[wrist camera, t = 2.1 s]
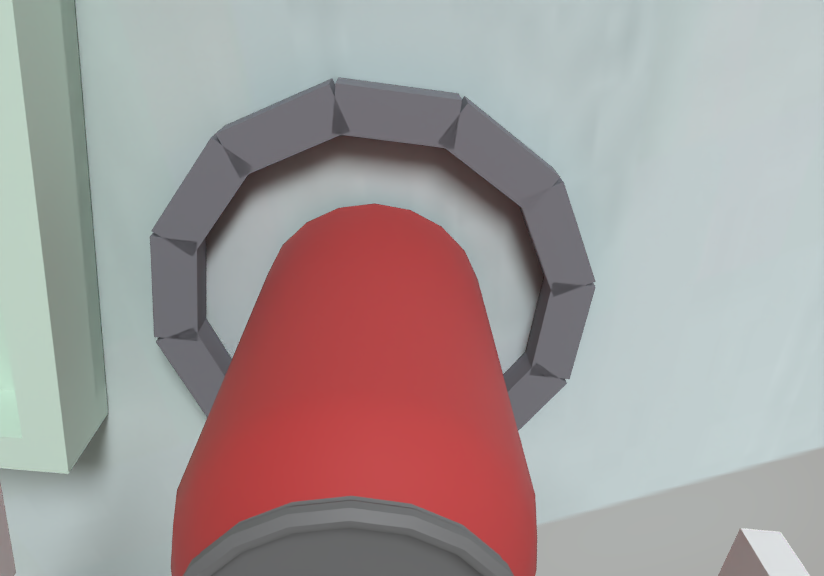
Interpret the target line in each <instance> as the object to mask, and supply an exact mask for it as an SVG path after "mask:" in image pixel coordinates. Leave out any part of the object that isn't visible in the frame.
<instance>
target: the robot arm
mask: <svg viewBox="0 0 824 576" xmlns="http://www.w3.org/2000/svg"><path fill="white" fill-rule="evenodd" d="M15 573H16V569H15V564H14V558H13V552H12V546H11V541H10V535H9V529H8V523H7V518H6V512H5V506H4V500H3V495H2V489H1V483H0V576H14V575H15ZM718 576H810V575H809V573H808V572H807V570H806V569H805V567H804V566H803V565H802V563H801V562H800V560H799V559H798V557H797V556H796V554H795V553H794V551H793V550H792V548H791V547H790V545H789V544H788V542H787V541H786V539H785V538H784V536H783V535H782V533H781V532H777V531H766V530H756V529H746V528H740V530H739V532H738V534H737V536H736V538H735V541H734V543H733V545H732V547H731V549H730V552H729V553H728V556H727V558H726V560H725V562H724V564H723V566H722V568H721V571H720V573H719V575H718Z"/></svg>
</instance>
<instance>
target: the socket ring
mask: <svg viewBox="0 0 824 576" xmlns="http://www.w3.org/2000/svg"><path fill="white" fill-rule="evenodd" d="M340 135H347V136H355V137H362V138H370V139H378V140H386V141H394V142H402V143H409V144H417V145H425V146H433V147H441V148H445V149H447V150H448V151H449V152H450V153H452V154H453V155H454V156H456V157H457V158H458V159H460V160H461V161H462V162H463V163H465V164H466V165H467V166H469V167H470V168H471V169H472V170H474V171H475V172H476V173H478V174H479V175H480V176H482V177H483V178H484V179H485V180H487V181H488V182H489V183H491V184H492V185H493V186H494V187H496V188H497V189H498V190H500V191H501V192H502V193H503V194H505V195H506V196H507V197H509V198H510V199H511V200H513V201H514V202H515V203H516V204H518V205H519V206H520V209H521V212H522V215H523V218H524V220H525V223H526V226H527V229H528V232H529V234H530V237H531V240H532V243H533V246H534V248H535V251H536V254H537V257H538V260H539V263H540V265H541V268H542V271H543V274H544V279H543V283H542V287H541V291H540V295H539V299H538V304H537V308H536V312H535V316H534V320H533V324H532V328H531V332H530V336H529V341H528V345H527V349H526V352H525V353H524V354H523V355H522V356H521V357H520V358H519V359H518V360H517V361H516V362H515V363H514V364H513V365H512V366H511V368H510V369H509V370H508V371H507V372H506V373H505V374H504V375H503V377H504V381H505V384H506V388H507V392H508V396H509V399H510V403H511V407H512V411H513V414H514V418H515V422H516V426H517V429H518V430H519V429H520V428H522V427H523V426H524V425H525V424H526V423H527V422H528V421H529V420H530V419H531V418H532V417H533V416H534V415H535V414H536V413H537V412H538V411H539V410H540V409H541V408H542V407H543V406H544V405H545V404H546V403H547V402H548V401H549V400H550V399H551V398H552V397H553V396H554V395H555V394H556V393H557V392H559V391H560V390H561V389H562V388H563V387H564V386H565V385H566V384H567V383H566V380H565V379H570V375H571V372H572V368H573V365H574V361H575V358H576V354H577V351H578V347H579V343H580V340H581V336H582V333H583V329H584V326H585V322H586V319H587V315H588V312H589V308H590V304H591V301H592V297H593V294H594V290H595V285H594V284H593V282H595V279H594V276H593V273H592V269H591V266H590V263H589V260H588V257H587V254H586V251H585V247H584V244H583V241H582V238H581V235H580V232H579V229H578V226H577V222H576V219H575V216H574V213H573V210H572V207H571V204H570V201H569V197H568V194H567V191H566V188H565V185H564V182H563V181H562V179H561V178H560V176H559V175H558V174H557V173H556V171H555V170H554V169H553V167H551V166H550V165H549V164H548V163H546V162H545V161H544V160H543V159H541V158H540V157H539V156H538V155H537V154H535V153H534V152H533V151H532V150H530V149H529V148H528V147H527V146H525V145H524V144H523V143H522V142H521V141H519V140H518V139H517V138H516V137H514V136H513V135H512V134H511V133H509V132H508V131H507V130H506V129H504V128H503V127H502V126H501V125H500V124H498V123H497V122H496V121H495V120H493V119H492V118H491V117H490V116H488V115H487V114H486V113H485V112H484V111H482V110H481V109H480V108H479V107H477V106H476V105H475V104H474V103H472V102H471V101H470V100H469V99H467V98H466V97H465V96H464V98H463V99H461V97H460V95H459V94H457V93H450V92H443V91H435V90H428V89H420V88H413V87H406V86H398V85H391V84H383V83H376V82H368V81H361V80H354V79H346V78H338V80H337V82H336V84H334V81H333V79H330V80H327V81H325V82H323V83H321V84H318V85H316V86H314V87H311V88H309V89H307V90H305V91H302V92H300V93H298V94H296V95H293V96H291V97H289V98H286V99H284V100H282V101H280V102H277V103H275V104H273V105H271V106H268V107H266V108H264V109H261V110H259V111H257V112H255V113H252V114H250V115H248V116H246V117H243V118H241V119H239V120H236V121H234V122H232V123H230V124H227V125H225V126H224V127H223V128H222V129H220V130H219V131H218V132H217V133H216V134H215V135H214V136H212V137H211V139H210V140H209V142H208V143H207V145H206V146H205V148H204V150H203V151H202V153H201V154H200V156H199V157H198V159H197V160H196V162H195V164H194V165H193V167H192V168H191V170H190V171H189V173H188V175H187V176H186V178H185V179H184V181H183V182H182V184H181V185H180V187H179V189H178V190H177V192H176V193H175V195H174V196H173V198H172V200H171V201H170V203H169V204H168V206H167V207H166V209H165V211H164V212H163V214H162V215H161V217H160V218H159V220H158V221H157V223H156V225H155V226H154V228H153V229H152V232H154V233H153V234H152V235H151V236H150V248H151V272H152V296H153V319H154V337H159V338H158V339H157V341H156V343H157V344H158V346H159V347H160V348H161V350H162V351H163V353H164V354H165V356H166V357H167V359H168V360H169V362H170V363H171V365H172V366H173V368H174V369H175V371H176V372H177V373H178V375H179V376H180V378H181V379H182V381H183V382H184V384H185V385H186V387H187V388H188V390H189V391H190V393H191V394H192V396H193V397H194V398H195V400H196V401H197V403H198V404H199V406H200V407H201V409H202V410H203V412H204V413H205V415H206V416H207V418H208V415H209V413H210V411H211V408H212V406H213V404H214V401H215V399H216V396H217V394H218V392H219V389H220V387H221V384H222V382H223V380H224V377H225V375H226V373H227V370H228V368H229V365H230V363H231V361H232V359H231V357H230V356H229V354H228V352H227V351H226V349H225V348H224V346H223V344H222V343H221V341H220V340H219V338H218V336H217V335H216V333H215V332H214V330H213V328H212V327H211V325H210V324H209V322H208V321H207V319H206V236H207V235H208V233H209V232H210V230H211V229H212V227H213V226H214V225H215V223H216V222H217V220H218V219H219V217H220V216H221V214H222V213H223V211H224V210H225V208H226V207H227V205H228V204H229V202H230V201H231V199H232V198H233V197H234V195H235V194H236V192H237V191H238V189H239V188H240V186H241V185H242V183H243V182H244V180H245V179H246V177H247V176H248V174H250V173H252V172H255V171H257V170H260V169H262V168H264V167H267V166H269V165H271V164H274V163H276V162H278V161H281V160H283V159H285V158H288V157H290V156H292V155H295V154H297V153H300V152H302V151H304V150H307V149H309V148H311V147H314V146H316V145H318V144H321V143H323V142H325V141H328V140H330V139H332V138H335V137H337V136H340Z"/></svg>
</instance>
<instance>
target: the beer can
mask: <svg viewBox="0 0 824 576" xmlns="http://www.w3.org/2000/svg"><path fill="white" fill-rule="evenodd" d="M536 561H537V525H536V502H535V493H534V489H533V486H532V482H531V478H530V474H529V471H528V467H527V463H526V459H525V456H524V452H523V448H522V444H521V441H520V437H519V433H518V429H517V426H516V422H515V418H514V414H513V411H512V407H511V403H510V399H509V396H508V392H507V388H506V384H505V381H504V377H503V373H502V369H501V366H500V362H499V358H498V354H497V350H496V347H495V343H494V339H493V335H492V332H491V328H490V324H489V320H488V317H487V313H486V309H485V305H484V302H483V298H482V294H481V290H480V287H479V283H478V279H477V277H476V275H475V273H474V270H473V268H472V266H471V264H470V262H469V260H468V257H467V255H466V253H465V251H464V250H463V249H462V248H461V247H460V246H459V244H458V243H457V242H456V241H455V240H454V239H453V238H452V237H451V236H450V235H449V234H448V233H447V232H446V231H445V230H444V229H443V228H442V227H441V226H439V225H437V224H435V223H434V222H432V221H430V220H428V219H426V218H424V217H422V216H420V215H418V214H416V213H415V212H413V211H411V210H406V209H401V208H396V207H390V206H385V205H379V204H368V205H359V206H351V207H343V208H338V209H335V210H333V211H331V212H329V213H327V214H324V215H322V216H320V217H318V218H316V219H313V220H311V221H309V222H307V223H306V224H305V225H304V226H303V227H302V228H300V229H299V230H298V231H297V232H296V233H295V234H294V235H293V236H292V237H291V238H290V239H289V240H288V241H287V242H286V243H284V244H283V245H282V247H281V249H280V251H279V253H278V255H277V257H276V259H275V261H274V263H273V265H272V267H271V269H270V271H269V273H268V275H267V277H266V280H265V282H264V284H263V287H262V289H261V292H260V294H259V296H258V299H257V301H256V304H255V306H254V308H253V311H252V313H251V315H250V318H249V320H248V323H247V325H246V327H245V330H244V332H243V334H242V337H241V339H240V342H239V344H238V346H237V349H236V351H235V354H234V356H233V358H232V361H231V363H230V365H229V368H228V370H227V373H226V375H225V377H224V380H223V382H222V384H221V387H220V389H219V392H218V394H217V396H216V399H215V401H214V404H213V406H212V408H211V411H210V413H209V415H208V418H207V420H206V423H205V425H204V427H203V430H202V432H201V434H200V437H199V439H198V442H197V444H196V446H195V449H194V451H193V453H192V456H191V458H190V461H189V463H188V465H187V468H186V470H185V473H184V475H183V477H182V480H181V482H180V484H179V487H178V489H177V495H176V504H175V513H174V522H173V538H172V555H171V572H172V576H535V573H536V563H537V562H536Z"/></svg>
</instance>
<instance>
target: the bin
mask: <svg viewBox="0 0 824 576" xmlns="http://www.w3.org/2000/svg"><path fill="white" fill-rule="evenodd" d="M107 414H108V405H107V393H106V381H105V369H104V356H103V344H102V332H101V320H100V307H99V295H98V283H97V271H96V258H95V246H94V234H93V222H92V209H91V197H90V185H89V173H88V160H87V148H86V136H85V124H84V111H83V99H82V87H81V75H80V62H79V50H78V38H77V26H76V13H75V1H74V0H0V468H4V469H16V470H28V471H40V472H51V473H63V474H69V473H70V471H71V470H72V468H73V467H74V465H75V463H76V462H77V460H78V459H79V457H80V456H81V454H82V453H83V451H84V450H85V448H86V447H87V445H88V443H89V442H90V440H91V439H92V437H93V436H94V434H95V433H96V431H97V430H98V428H99V427H100V425H101V423H102V422H103V420H104V419H105V417H106V416H107Z"/></svg>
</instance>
